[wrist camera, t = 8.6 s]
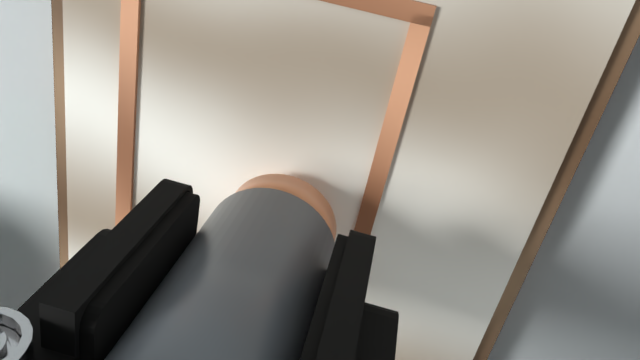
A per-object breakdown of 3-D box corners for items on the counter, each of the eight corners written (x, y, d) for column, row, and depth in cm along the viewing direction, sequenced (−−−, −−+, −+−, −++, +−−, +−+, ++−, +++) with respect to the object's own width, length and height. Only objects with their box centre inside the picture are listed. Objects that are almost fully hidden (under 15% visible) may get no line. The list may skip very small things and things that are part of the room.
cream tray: (68, -244, 11) (-138, -332, 7) (689, -112, 10) (854, -126, 6) (79, 459, 21) (-2, 584, 17) (384, 557, 20) (372, 712, 16)
